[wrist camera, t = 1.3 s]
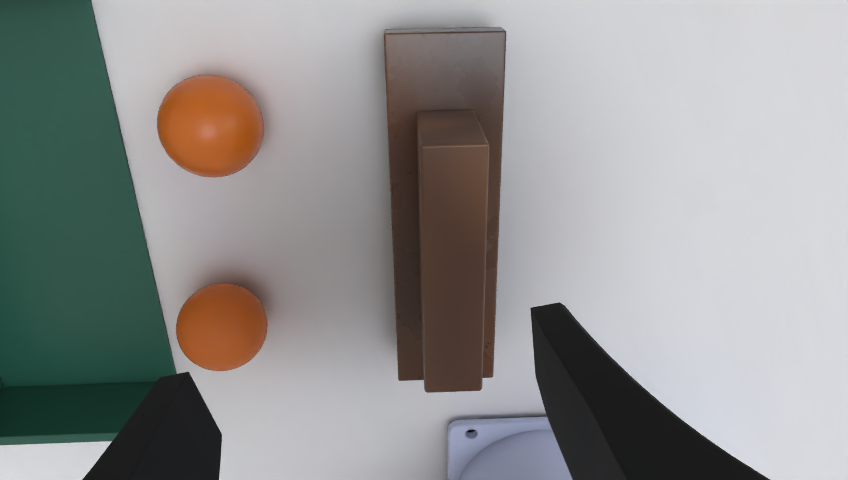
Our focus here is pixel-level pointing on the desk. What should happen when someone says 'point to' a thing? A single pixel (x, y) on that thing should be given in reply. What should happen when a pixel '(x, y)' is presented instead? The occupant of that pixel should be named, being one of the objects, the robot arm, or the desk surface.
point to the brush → (445, 199)
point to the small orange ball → (210, 126)
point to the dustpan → (68, 238)
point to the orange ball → (221, 327)
